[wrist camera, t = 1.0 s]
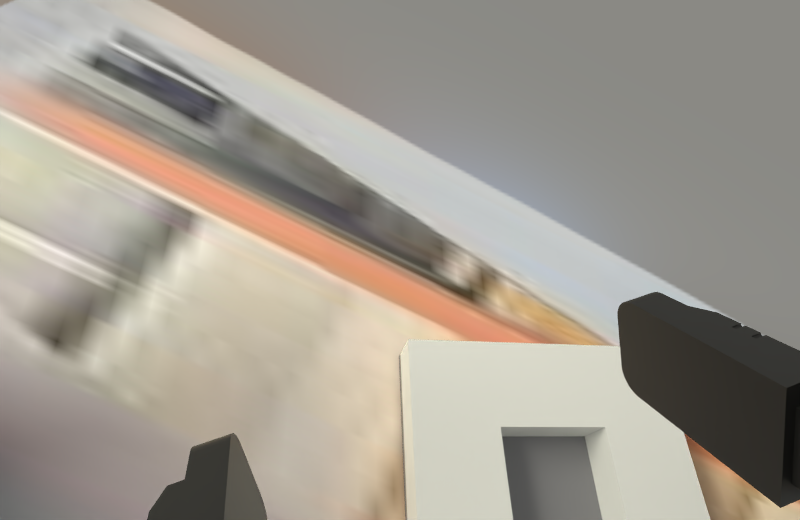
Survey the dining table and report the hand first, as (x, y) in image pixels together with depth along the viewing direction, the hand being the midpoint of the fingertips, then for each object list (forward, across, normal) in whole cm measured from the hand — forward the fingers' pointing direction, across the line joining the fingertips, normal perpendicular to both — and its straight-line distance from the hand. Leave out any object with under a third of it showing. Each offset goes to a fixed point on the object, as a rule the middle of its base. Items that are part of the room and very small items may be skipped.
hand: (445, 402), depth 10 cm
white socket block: (+16, -8, +21) cm, 27 cm away
